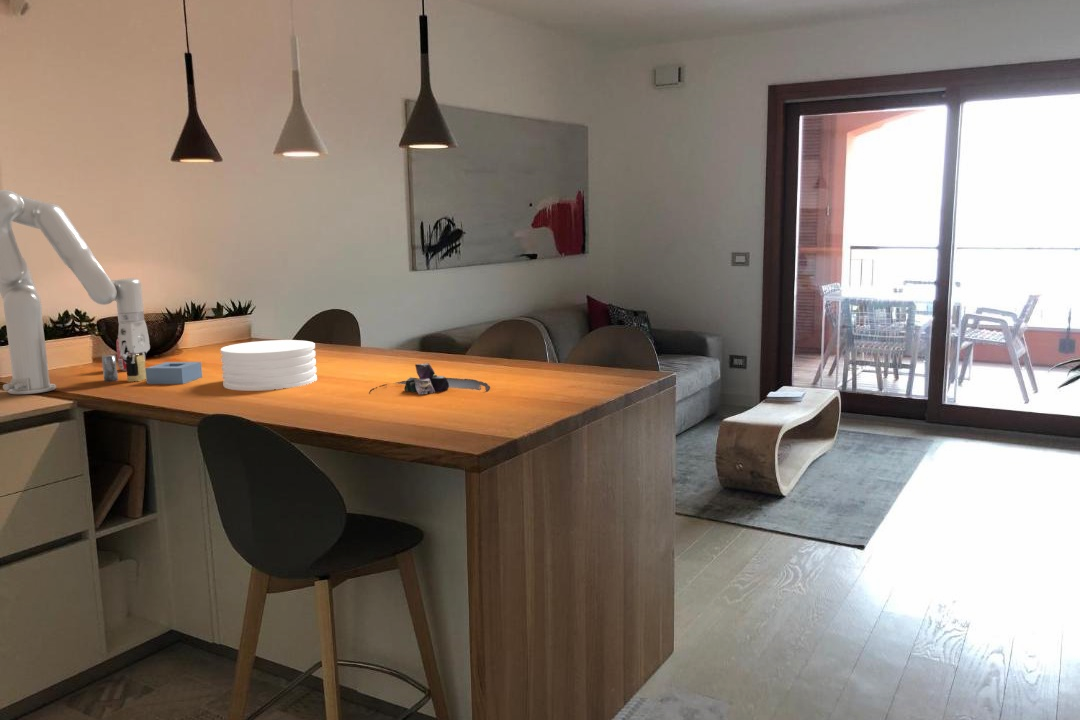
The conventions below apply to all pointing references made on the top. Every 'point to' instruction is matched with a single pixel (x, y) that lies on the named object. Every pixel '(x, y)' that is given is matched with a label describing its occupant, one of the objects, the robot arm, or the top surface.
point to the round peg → (109, 368)
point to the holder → (173, 372)
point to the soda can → (120, 360)
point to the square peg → (138, 369)
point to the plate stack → (268, 365)
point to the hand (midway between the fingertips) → (136, 373)
